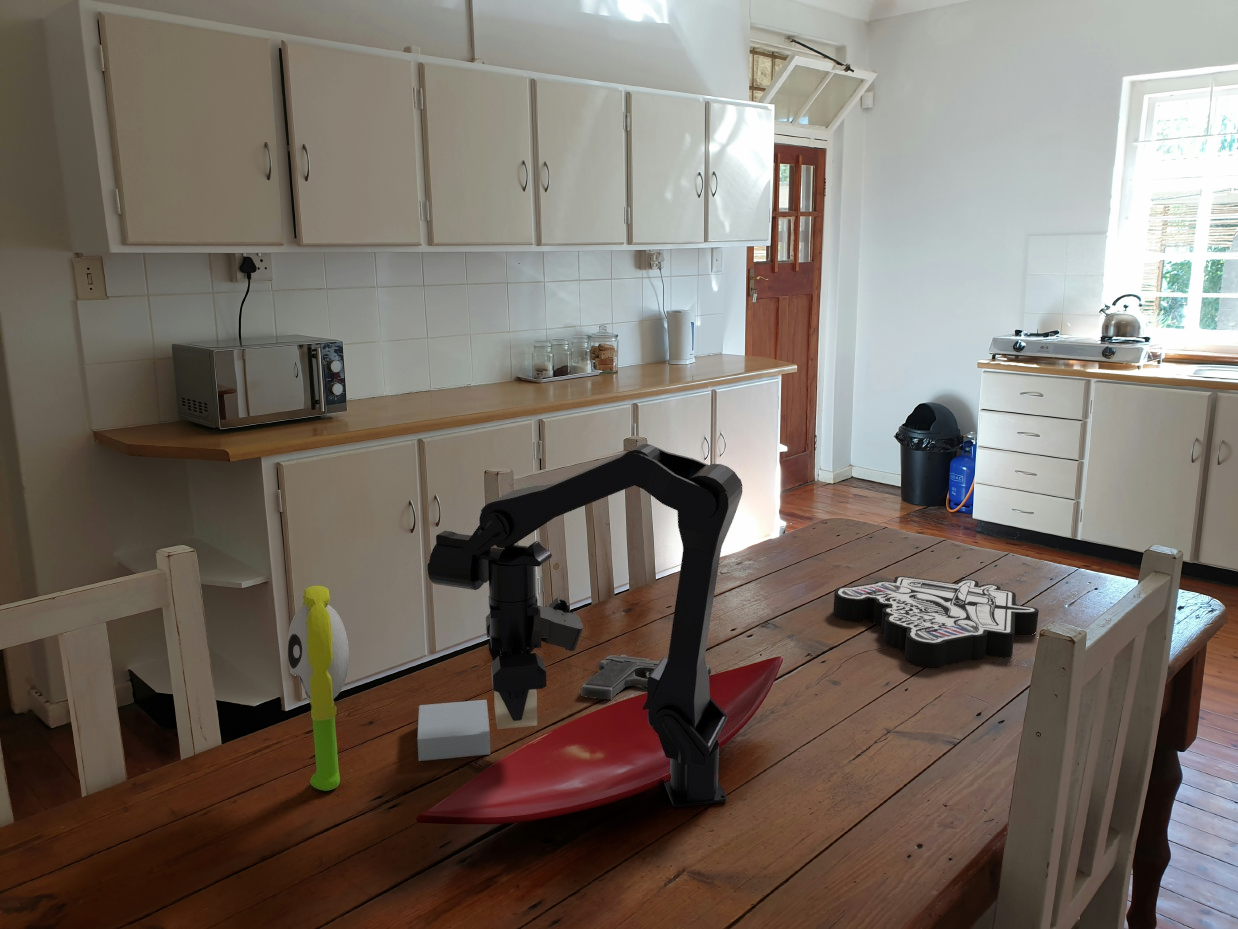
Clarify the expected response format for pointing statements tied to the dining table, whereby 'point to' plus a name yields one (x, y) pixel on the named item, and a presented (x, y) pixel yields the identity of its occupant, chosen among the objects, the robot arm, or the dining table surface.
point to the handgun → (619, 676)
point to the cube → (528, 716)
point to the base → (453, 730)
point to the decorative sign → (939, 618)
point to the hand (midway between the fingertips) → (515, 709)
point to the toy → (320, 674)
